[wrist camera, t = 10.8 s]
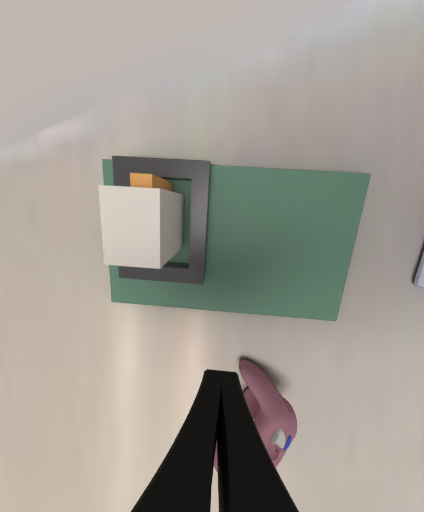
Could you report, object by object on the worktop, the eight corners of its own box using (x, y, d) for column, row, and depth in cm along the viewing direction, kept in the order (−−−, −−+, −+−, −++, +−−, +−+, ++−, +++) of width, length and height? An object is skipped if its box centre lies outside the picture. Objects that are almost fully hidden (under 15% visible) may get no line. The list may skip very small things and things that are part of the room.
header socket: (211, 165, 15) (209, 160, 14) (205, 278, 18) (203, 284, 16) (122, 160, 16) (112, 155, 14) (127, 271, 18) (118, 277, 16)
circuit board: (361, 175, 16) (370, 173, 15) (330, 315, 19) (336, 321, 18) (109, 161, 17) (102, 159, 16) (117, 297, 20) (111, 301, 19)
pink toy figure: (219, 415, 24) (246, 500, 19) (187, 416, 22) (206, 513, 16) (270, 359, 22) (319, 435, 16) (240, 353, 20) (285, 440, 14)
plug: (185, 184, 16) (159, 170, 10) (184, 245, 17) (160, 268, 11) (147, 181, 16) (97, 166, 10) (148, 242, 17) (104, 264, 11)
